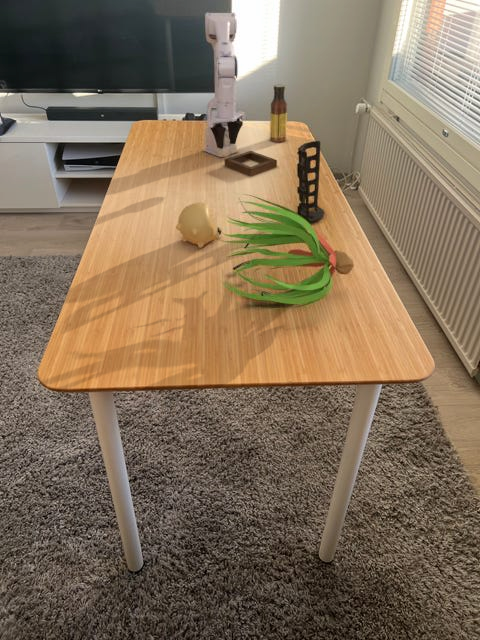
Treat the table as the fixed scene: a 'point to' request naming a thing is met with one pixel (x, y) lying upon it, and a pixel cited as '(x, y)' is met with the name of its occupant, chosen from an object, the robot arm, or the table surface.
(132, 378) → the table surface
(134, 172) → the table surface
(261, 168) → the brown wooden square frame
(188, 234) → the toy pig
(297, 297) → the decorative plant
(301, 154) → the holder
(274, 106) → the sauce bottle
